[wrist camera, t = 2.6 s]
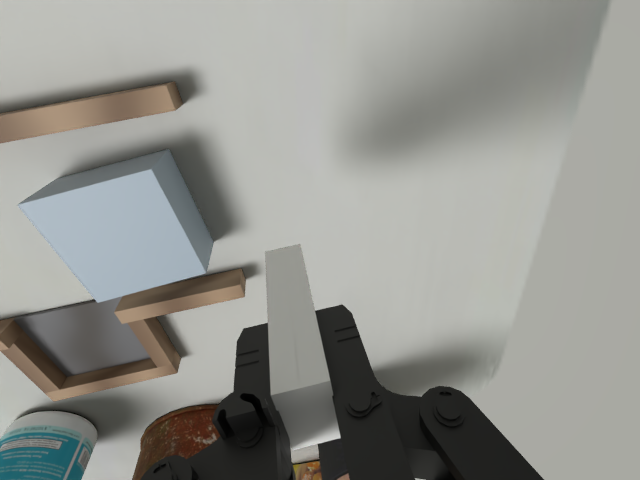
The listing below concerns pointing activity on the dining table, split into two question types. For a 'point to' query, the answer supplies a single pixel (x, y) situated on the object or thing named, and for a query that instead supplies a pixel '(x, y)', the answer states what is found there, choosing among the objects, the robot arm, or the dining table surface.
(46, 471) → the pill bottle
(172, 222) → the slate block
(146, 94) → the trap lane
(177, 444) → the oil lamp
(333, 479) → the travel mug
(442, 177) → the dining table surface
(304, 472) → the candy box
